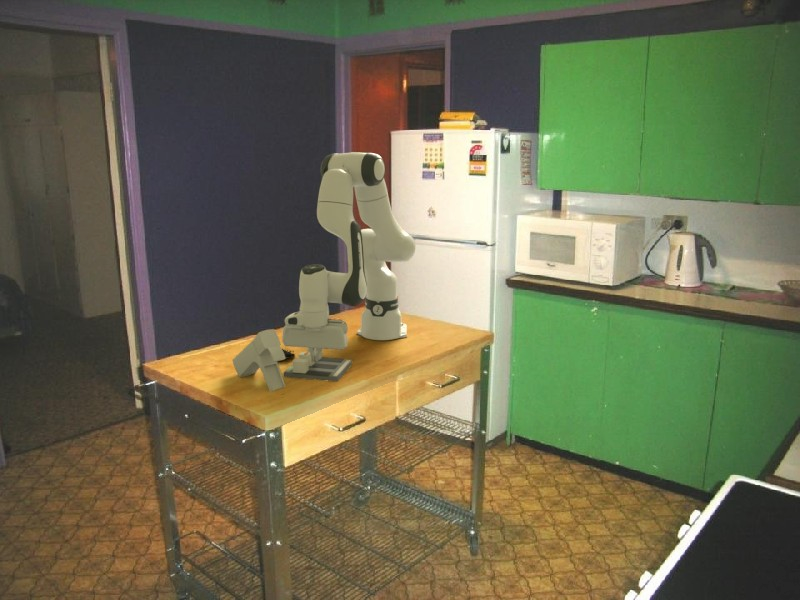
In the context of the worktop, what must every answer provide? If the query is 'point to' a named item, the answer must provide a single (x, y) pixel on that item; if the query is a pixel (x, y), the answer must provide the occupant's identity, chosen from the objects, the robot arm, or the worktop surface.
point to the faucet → (262, 359)
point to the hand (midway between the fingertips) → (315, 360)
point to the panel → (323, 369)
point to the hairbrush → (288, 353)
